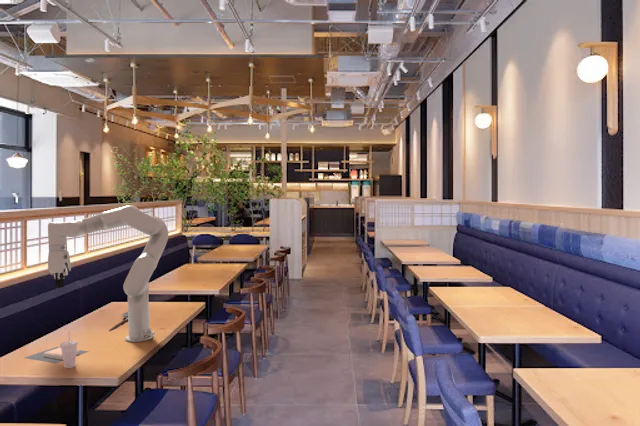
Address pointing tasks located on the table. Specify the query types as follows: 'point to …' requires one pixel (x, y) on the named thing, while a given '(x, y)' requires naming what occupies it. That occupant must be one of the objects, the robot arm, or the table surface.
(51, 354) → the tile
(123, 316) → the spoon
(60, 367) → the table surface
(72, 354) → the smoothie
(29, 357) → the mat
